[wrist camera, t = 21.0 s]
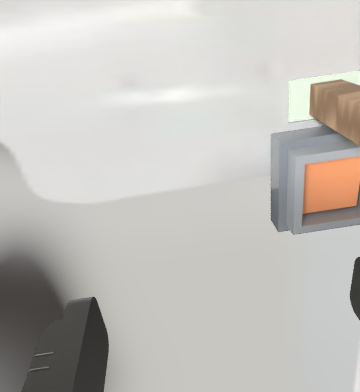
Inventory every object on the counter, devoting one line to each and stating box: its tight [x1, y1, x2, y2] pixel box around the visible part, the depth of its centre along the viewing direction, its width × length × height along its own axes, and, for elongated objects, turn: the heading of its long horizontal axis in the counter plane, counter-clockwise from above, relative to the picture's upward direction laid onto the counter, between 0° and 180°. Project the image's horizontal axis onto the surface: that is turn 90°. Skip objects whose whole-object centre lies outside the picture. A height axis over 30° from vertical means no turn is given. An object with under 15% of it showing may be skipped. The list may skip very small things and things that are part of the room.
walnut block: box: [309, 79, 360, 146], centre depth 33 cm, size 3×3×12 cm
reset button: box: [302, 156, 360, 214], centre depth 41 cm, size 7×7×3 cm
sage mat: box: [288, 70, 360, 122], centre depth 38 cm, size 5×8×1 cm, turn 97°
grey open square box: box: [271, 126, 360, 235], centre depth 41 cm, size 12×12×5 cm
